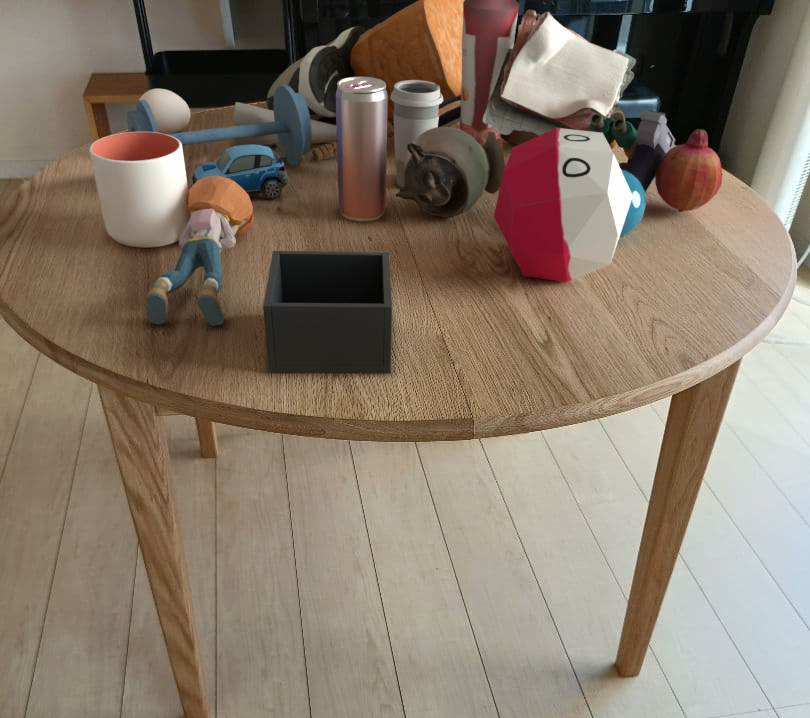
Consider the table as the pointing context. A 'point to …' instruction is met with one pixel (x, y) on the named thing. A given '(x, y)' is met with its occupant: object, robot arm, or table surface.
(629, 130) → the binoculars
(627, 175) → the ball
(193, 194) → the figurine
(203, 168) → the toy car
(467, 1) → the liquor
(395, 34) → the bread
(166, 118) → the egg
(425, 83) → the cup
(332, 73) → the running shoe
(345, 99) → the beverage can
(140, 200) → the cup
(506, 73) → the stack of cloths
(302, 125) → the dumbbell
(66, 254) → the table surface
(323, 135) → the long tapered cone
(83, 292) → the table surface
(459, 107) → the throwing knife
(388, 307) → the trash bin
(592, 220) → the decorative object
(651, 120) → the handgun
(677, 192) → the fruit
